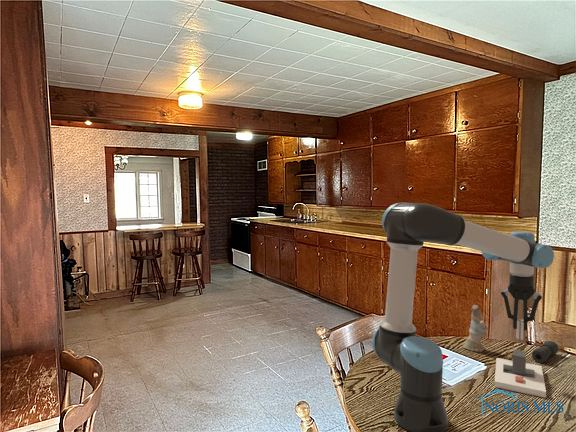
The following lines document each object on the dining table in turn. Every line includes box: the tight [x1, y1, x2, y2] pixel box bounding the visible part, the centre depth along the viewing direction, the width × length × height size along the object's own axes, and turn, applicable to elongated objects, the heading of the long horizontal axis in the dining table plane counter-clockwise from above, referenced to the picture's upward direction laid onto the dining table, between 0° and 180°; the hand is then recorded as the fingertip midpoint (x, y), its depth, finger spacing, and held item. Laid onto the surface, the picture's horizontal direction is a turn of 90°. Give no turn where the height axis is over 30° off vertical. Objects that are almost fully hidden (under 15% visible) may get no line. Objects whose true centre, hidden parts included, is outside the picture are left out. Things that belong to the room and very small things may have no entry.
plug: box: [512, 349, 527, 376], centre depth 143 cm, size 8×4×8 cm, turn 149°
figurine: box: [462, 304, 489, 353], centre depth 167 cm, size 9×8×20 cm
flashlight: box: [531, 339, 560, 364], centre depth 158 cm, size 15×5×5 cm, turn 129°
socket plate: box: [493, 357, 547, 398], centre depth 141 cm, size 22×15×3 cm
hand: (519, 338), depth 142 cm, fingers closed
